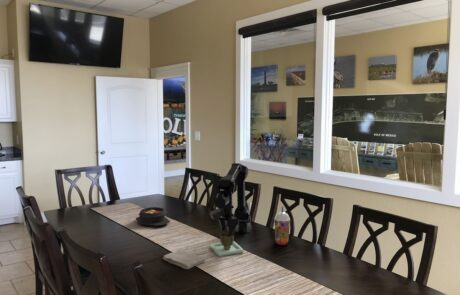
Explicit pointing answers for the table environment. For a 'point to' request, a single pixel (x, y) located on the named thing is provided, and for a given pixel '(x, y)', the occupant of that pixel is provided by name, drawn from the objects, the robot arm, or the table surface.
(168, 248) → the table surface
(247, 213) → the robot arm
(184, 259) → the washcloth
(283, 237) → the smoothie
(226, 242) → the cup
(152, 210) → the casserole
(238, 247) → the tray
